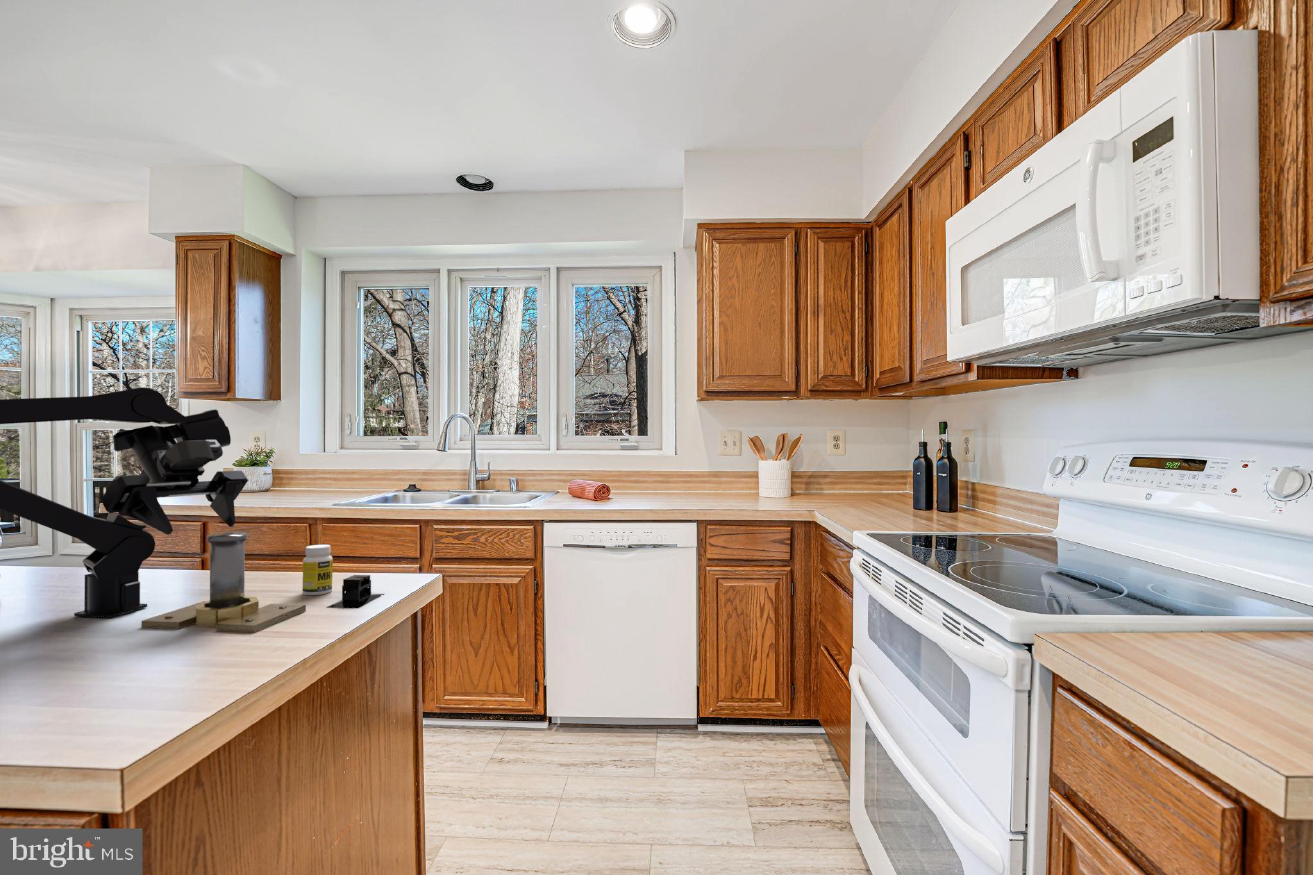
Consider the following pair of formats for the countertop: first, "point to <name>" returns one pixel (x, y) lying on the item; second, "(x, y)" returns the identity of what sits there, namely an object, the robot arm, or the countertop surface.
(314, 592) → the supplement bottle
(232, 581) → the hinge pin
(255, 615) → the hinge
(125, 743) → the countertop surface
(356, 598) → the black notched mount
